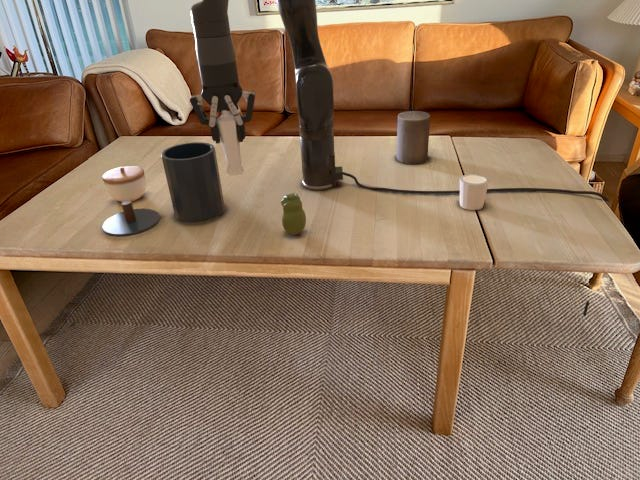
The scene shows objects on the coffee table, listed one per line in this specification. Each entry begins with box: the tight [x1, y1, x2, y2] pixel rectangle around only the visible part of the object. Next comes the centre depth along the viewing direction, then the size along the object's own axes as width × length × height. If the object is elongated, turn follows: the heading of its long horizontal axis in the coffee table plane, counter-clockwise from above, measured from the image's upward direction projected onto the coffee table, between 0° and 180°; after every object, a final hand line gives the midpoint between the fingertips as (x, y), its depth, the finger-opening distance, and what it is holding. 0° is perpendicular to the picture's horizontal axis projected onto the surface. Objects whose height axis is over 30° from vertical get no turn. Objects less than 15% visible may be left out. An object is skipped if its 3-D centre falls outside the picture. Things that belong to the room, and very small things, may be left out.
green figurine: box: [280, 192, 307, 235], centre depth 109 cm, size 6×5×10 cm
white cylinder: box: [459, 173, 490, 211], centre depth 118 cm, size 7×7×7 cm
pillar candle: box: [396, 110, 431, 165], centre depth 145 cm, size 10×10×15 cm
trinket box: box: [101, 165, 147, 203], centre depth 131 cm, size 11×11×9 cm
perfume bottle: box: [216, 110, 245, 177], centre depth 104 cm, size 5×4×15 cm
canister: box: [160, 141, 226, 224], centre depth 119 cm, size 13×13×17 cm
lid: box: [101, 201, 161, 237], centre depth 118 cm, size 14×14×6 cm
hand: (230, 141), depth 105 cm, fingers closed on perfume bottle, 4 cm apart
